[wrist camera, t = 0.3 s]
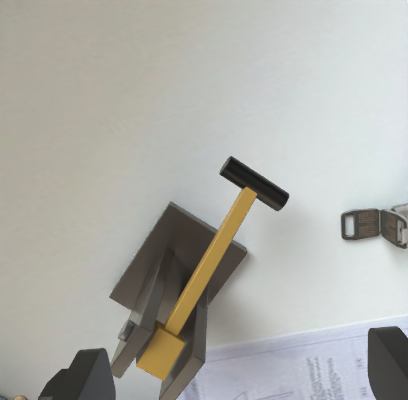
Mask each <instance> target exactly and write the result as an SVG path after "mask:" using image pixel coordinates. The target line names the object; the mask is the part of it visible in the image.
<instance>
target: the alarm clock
mask: <svg viewBox="0 0 408 400" xmlns="http://www.w3.org/2000/svg"><path fill="white" fill-rule="evenodd" d="M0 400H6V399H5V398H3V397H1V396H0ZM14 400H26V399H25V397H23V396H19V397H17V398H15V399H14Z"/></svg>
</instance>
